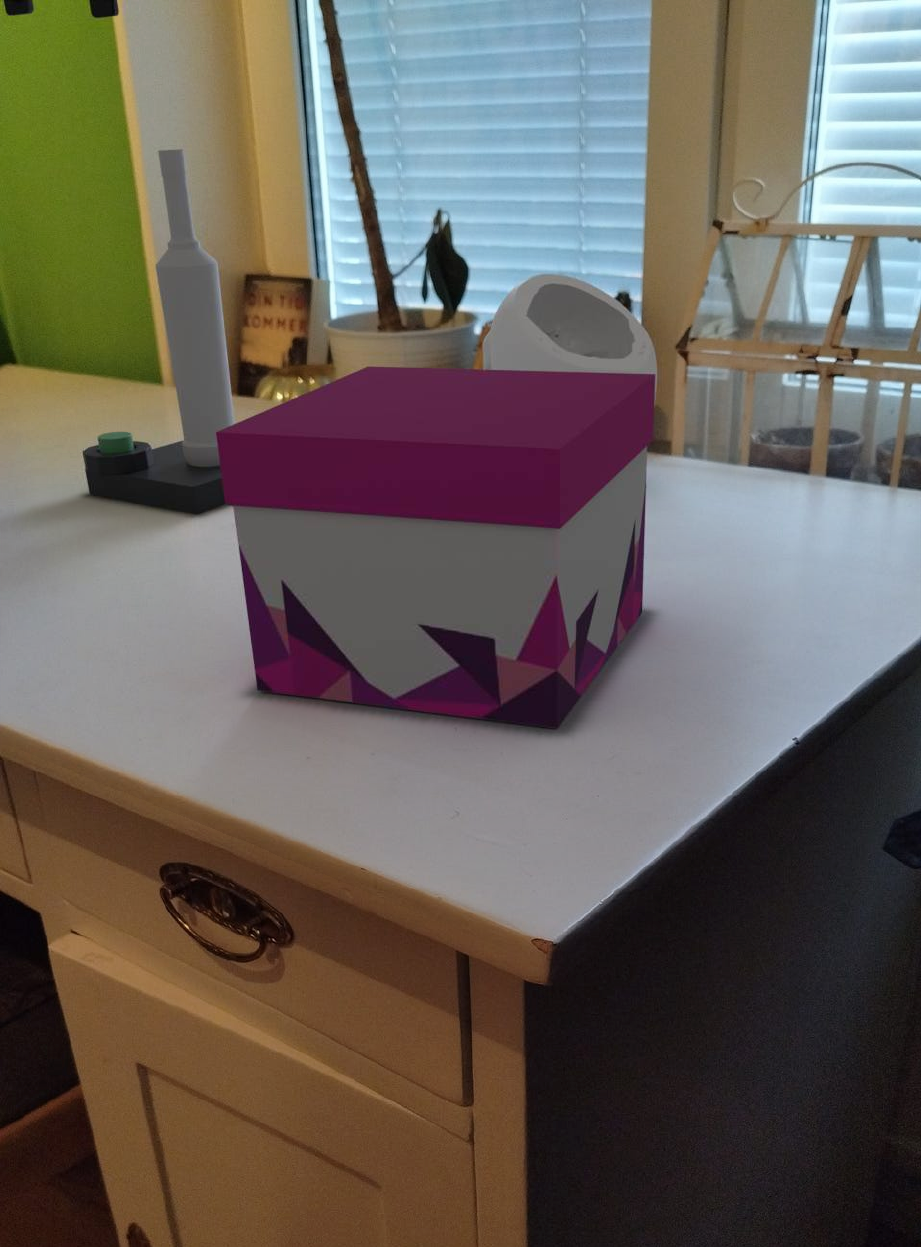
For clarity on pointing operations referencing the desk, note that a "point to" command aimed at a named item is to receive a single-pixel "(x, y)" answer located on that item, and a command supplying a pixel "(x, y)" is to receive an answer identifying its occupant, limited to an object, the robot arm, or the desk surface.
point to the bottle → (193, 323)
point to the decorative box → (443, 536)
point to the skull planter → (563, 305)
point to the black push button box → (154, 478)
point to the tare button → (115, 442)
